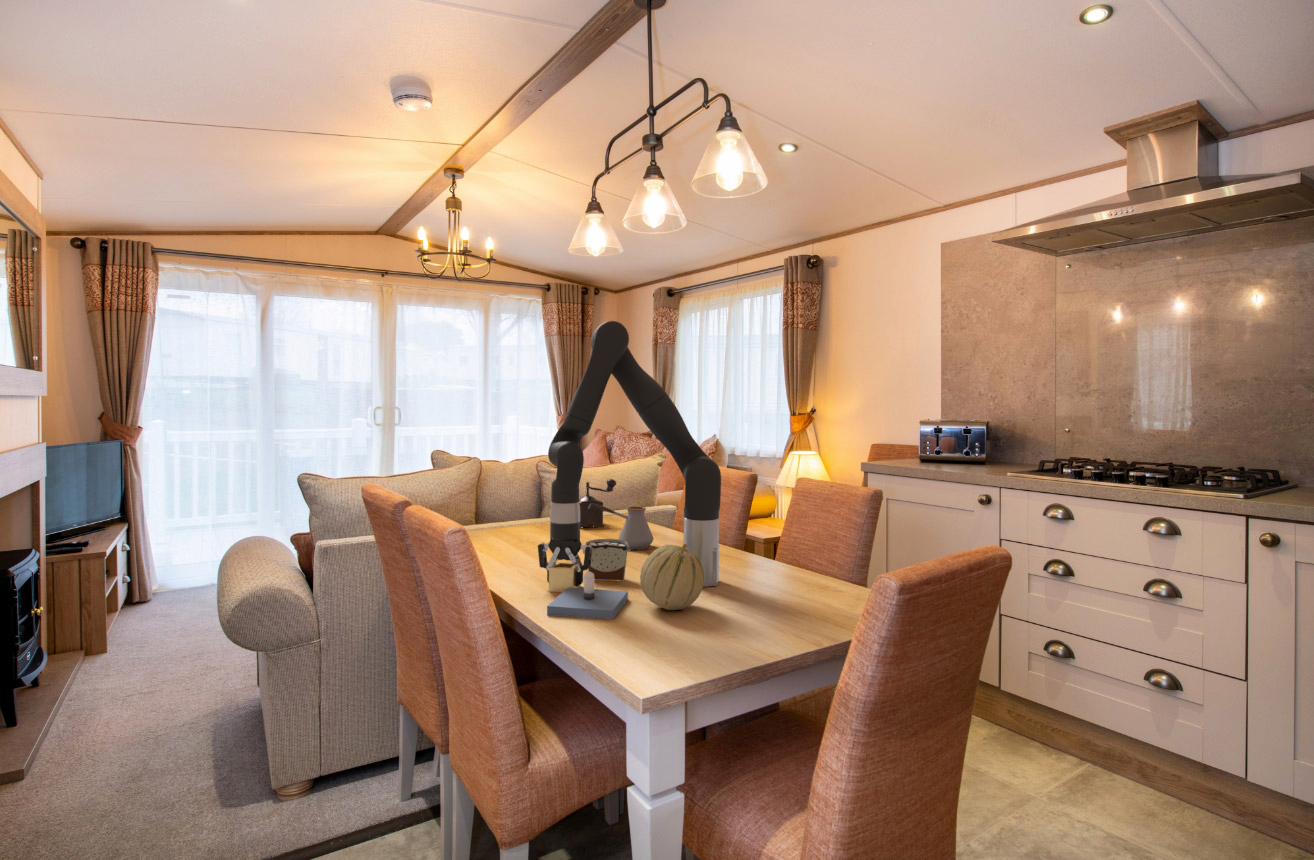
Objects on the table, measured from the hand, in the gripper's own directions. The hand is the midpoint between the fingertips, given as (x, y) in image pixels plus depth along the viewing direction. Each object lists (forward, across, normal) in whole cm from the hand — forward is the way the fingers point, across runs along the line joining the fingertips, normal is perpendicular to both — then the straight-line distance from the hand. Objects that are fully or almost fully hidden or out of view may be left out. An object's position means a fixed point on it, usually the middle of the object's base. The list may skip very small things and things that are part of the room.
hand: (564, 584), depth 169 cm
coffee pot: (+1, -3, -49) cm, 49 cm away
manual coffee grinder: (+1, +16, -85) cm, 86 cm away
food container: (+1, -8, -13) cm, 15 cm away
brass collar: (+1, 0, 0) cm, 1 cm away
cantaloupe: (+1, -29, +10) cm, 31 cm away
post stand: (+1, -10, +13) cm, 16 cm away
